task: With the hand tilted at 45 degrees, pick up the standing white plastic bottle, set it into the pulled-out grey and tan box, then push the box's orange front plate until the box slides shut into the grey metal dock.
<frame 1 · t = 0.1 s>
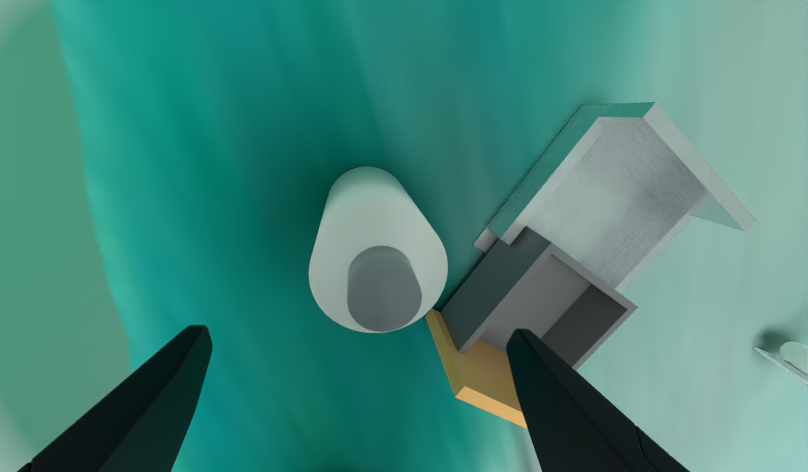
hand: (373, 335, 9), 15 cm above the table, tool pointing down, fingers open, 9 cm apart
bottle: (367, 206, 24), on the table
dock: (575, 220, 27), on the table
grey and tan box: (540, 327, 24), point 5 cm above the table, slide at 8.0 cm
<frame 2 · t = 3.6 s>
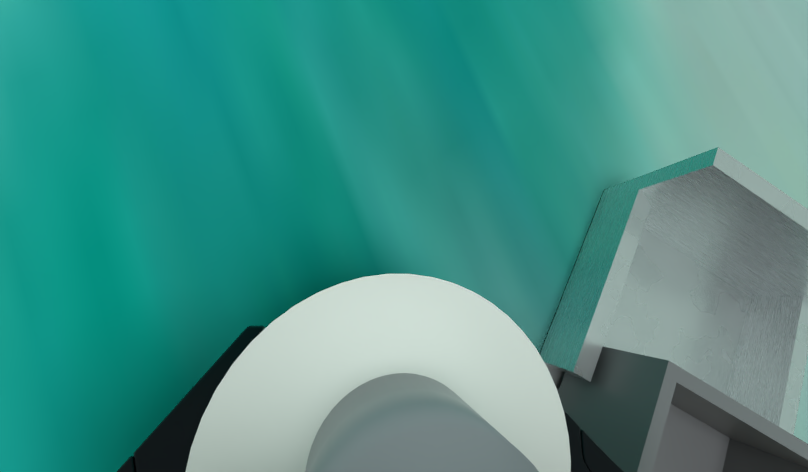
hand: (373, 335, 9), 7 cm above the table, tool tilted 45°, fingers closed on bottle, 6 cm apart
bottle: (358, 345, 15), on the table, touching gripper
dock: (655, 335, 19), on the table
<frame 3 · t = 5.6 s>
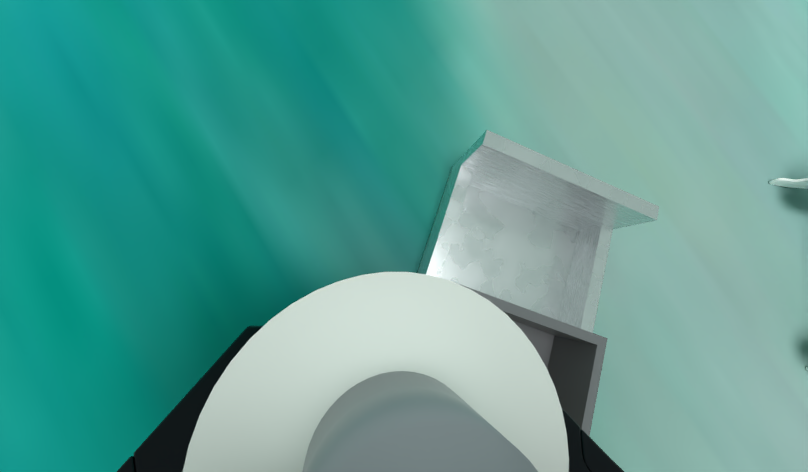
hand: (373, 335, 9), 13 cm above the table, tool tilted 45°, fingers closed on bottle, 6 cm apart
headset: (800, 275, 32), on the table
bottle: (357, 345, 15), point 7 cm above the table, touching gripper
dock: (502, 271, 25), on the table
grey and tan box: (506, 404, 19), point 5 cm above the table, slide at 8.0 cm
when the fingers open (9 cm above the table, at t = 7.7 s): bottle drops 1 cm, resting on grey and tan box.
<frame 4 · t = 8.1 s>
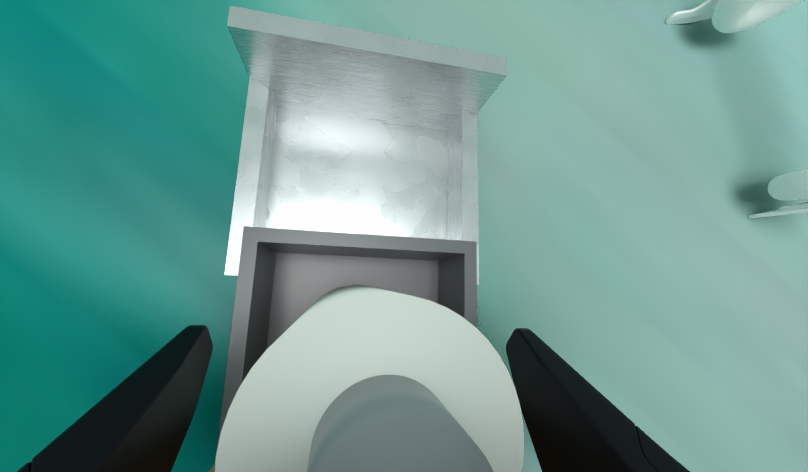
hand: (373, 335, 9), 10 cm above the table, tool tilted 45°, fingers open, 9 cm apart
headset: (722, 117, 28), on the table
bottle: (355, 342, 17), point 2 cm above the table, touching grey and tan box
dock: (362, 203, 20), on the table
grey and tan box: (360, 364, 14), point 5 cm above the table, slide at 8.0 cm, touching bottle
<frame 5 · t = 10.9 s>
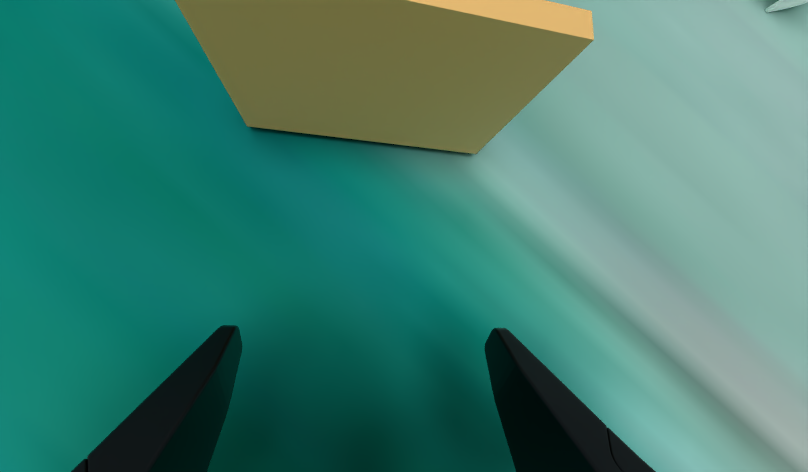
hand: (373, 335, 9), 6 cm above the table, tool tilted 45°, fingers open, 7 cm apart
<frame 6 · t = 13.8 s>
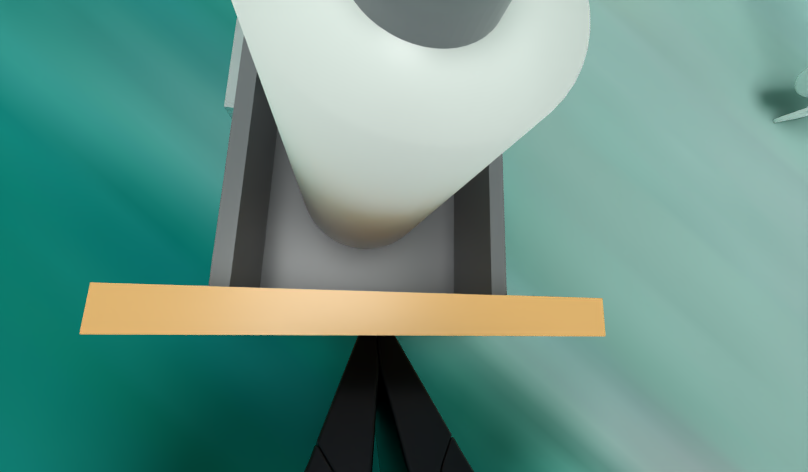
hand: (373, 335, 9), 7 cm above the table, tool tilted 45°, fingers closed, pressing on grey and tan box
headset: (743, 24, 27), on the table
bottle: (366, 188, 16), point 2 cm above the table, touching grey and tan box
dock: (371, 74, 18), on the table
grey and tan box: (374, 173, 12), point 5 cm above the table, slide at 7.5 cm, touching bottle, gripper
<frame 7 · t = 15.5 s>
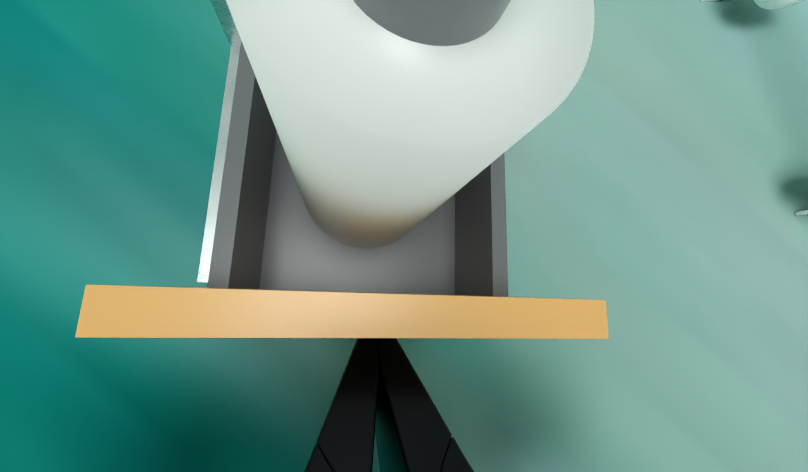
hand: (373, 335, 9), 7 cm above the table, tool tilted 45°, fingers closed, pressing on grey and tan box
headset: (763, 103, 25), on the table
bottle: (366, 187, 16), point 1 cm above the table, touching grey and tan box
dock: (365, 197, 17), on the table
grey and tan box: (375, 172, 12), point 5 cm above the table, slide at -0.1 cm, touching bottle, gripper
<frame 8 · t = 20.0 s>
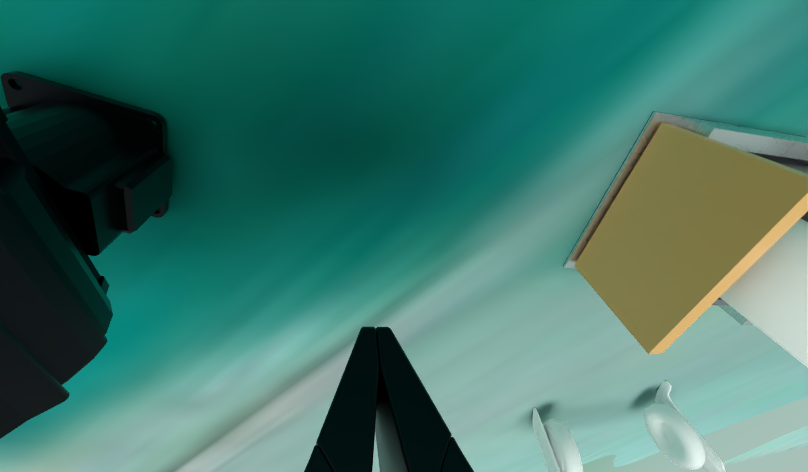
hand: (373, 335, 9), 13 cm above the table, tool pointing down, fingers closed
headset: (592, 400, 45), on the table
bottle: (689, 216, 24), point 1 cm above the table, touching grey and tan box
dock: (672, 207, 25), on the table
grey and tan box: (724, 243, 21), point 5 cm above the table, slide at 0.0 cm, touching bottle
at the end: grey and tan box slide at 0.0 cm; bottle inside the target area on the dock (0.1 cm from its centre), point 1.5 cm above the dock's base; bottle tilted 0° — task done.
